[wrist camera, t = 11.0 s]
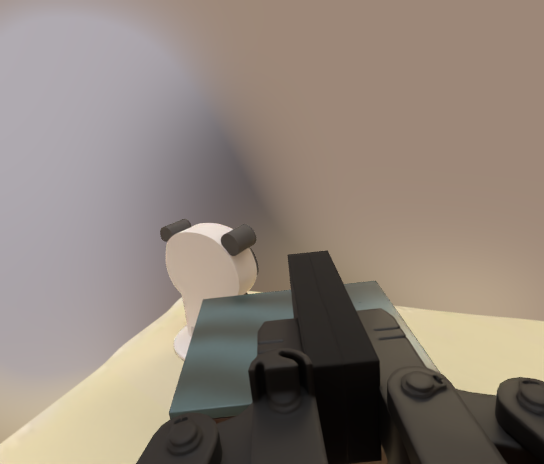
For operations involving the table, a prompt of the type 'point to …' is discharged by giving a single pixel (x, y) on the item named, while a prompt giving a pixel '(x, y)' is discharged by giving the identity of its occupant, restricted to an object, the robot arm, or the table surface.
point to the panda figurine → (207, 267)
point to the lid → (248, 347)
